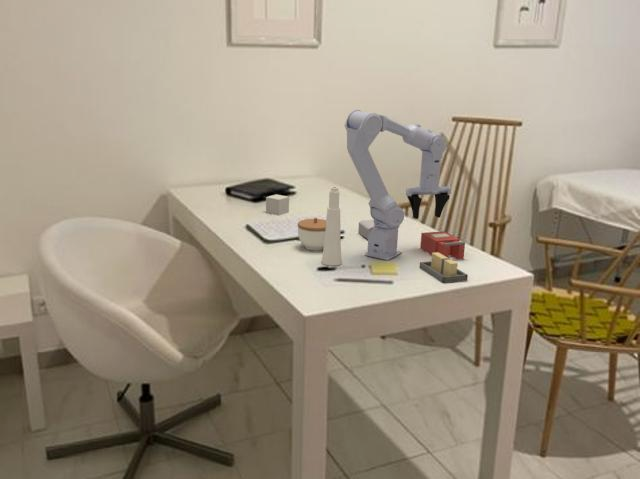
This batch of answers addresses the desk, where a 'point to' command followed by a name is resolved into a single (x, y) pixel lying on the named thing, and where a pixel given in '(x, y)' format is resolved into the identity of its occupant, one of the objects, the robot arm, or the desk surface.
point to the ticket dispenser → (442, 244)
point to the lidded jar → (312, 233)
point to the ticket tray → (444, 279)
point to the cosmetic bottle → (332, 231)
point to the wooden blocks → (443, 264)
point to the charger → (366, 227)
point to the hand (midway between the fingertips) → (426, 217)
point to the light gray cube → (277, 204)
